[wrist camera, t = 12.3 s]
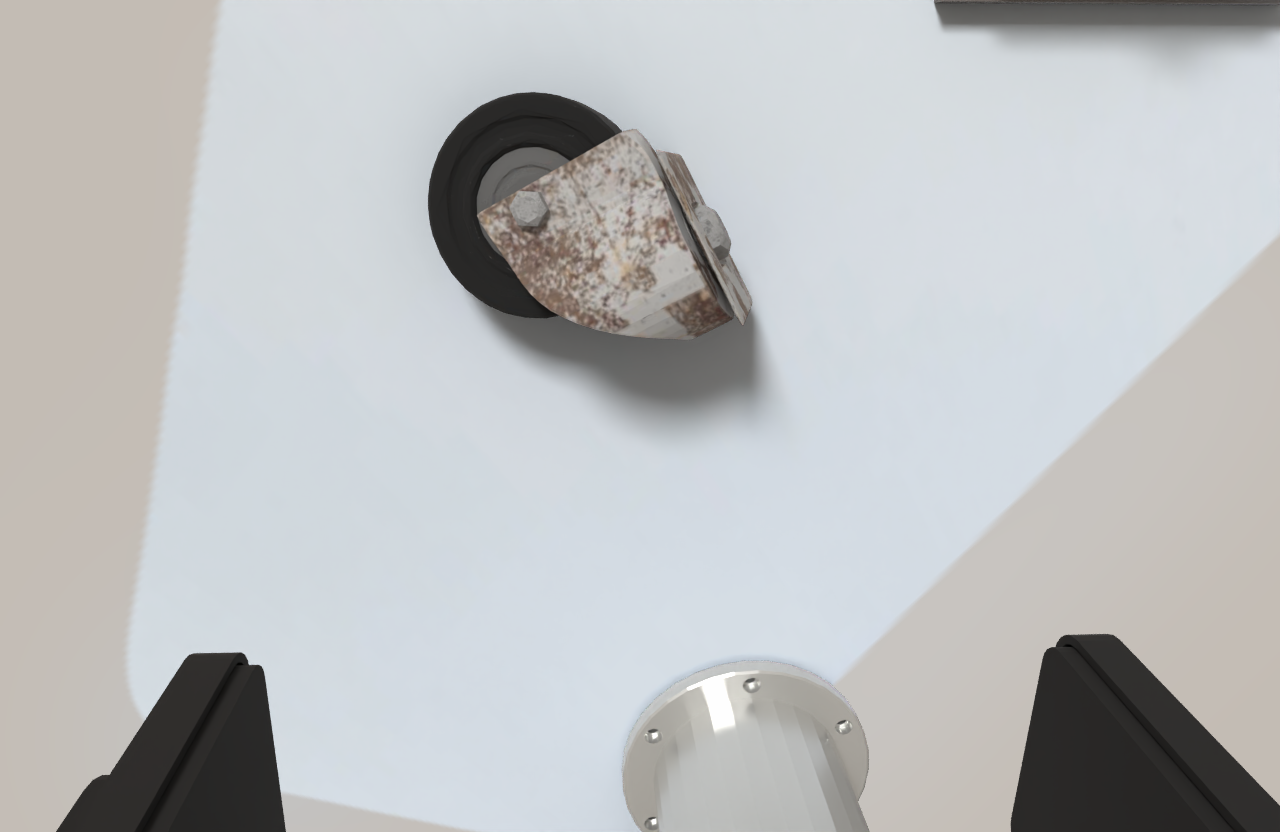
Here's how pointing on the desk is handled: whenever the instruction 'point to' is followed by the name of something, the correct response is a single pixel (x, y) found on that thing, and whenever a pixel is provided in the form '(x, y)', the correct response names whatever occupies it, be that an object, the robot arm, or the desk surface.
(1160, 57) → the desk surface
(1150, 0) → the frame
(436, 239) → the caster wheel
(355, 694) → the desk surface
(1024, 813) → the robot arm
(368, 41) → the desk surface
